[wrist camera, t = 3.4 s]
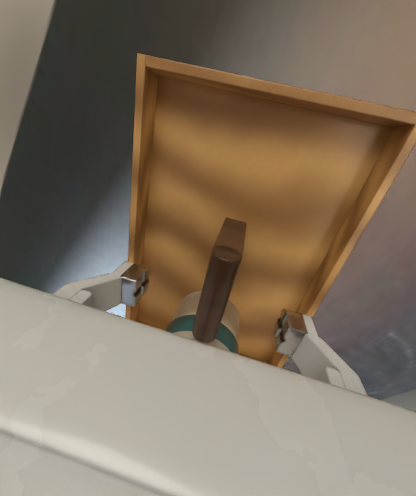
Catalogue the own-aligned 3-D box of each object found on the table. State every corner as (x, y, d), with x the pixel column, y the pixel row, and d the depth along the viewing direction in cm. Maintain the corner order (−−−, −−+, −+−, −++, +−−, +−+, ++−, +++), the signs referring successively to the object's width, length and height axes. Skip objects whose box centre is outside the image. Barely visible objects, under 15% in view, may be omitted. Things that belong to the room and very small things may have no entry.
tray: (157, 68, 14) (70, -1, 7) (400, 121, 12) (554, 93, 6) (137, 316, 24) (93, 379, 17) (270, 360, 22) (276, 445, 16)
